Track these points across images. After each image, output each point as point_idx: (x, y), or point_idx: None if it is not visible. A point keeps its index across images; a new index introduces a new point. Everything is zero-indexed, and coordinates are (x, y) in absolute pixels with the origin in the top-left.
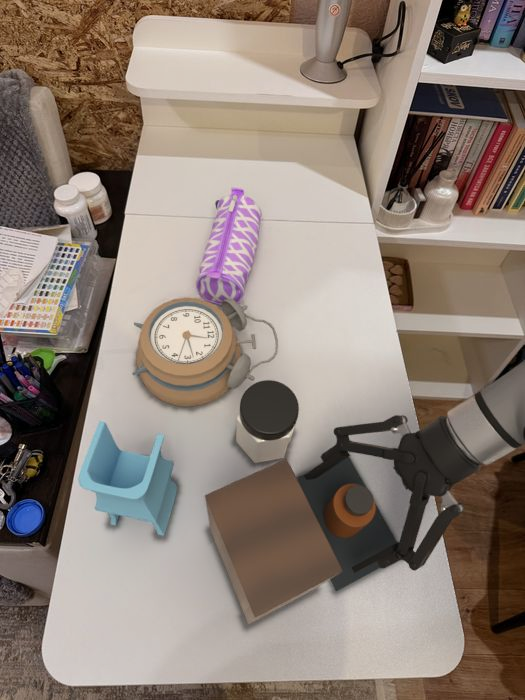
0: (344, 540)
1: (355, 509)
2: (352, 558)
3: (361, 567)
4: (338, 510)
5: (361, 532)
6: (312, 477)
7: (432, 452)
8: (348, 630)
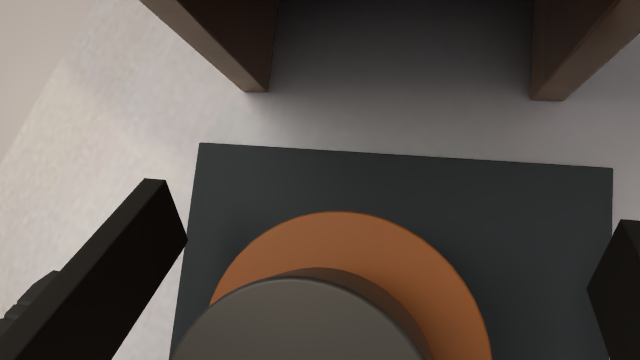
0: None
1: (235, 322)
2: (244, 242)
3: (124, 206)
4: (360, 238)
5: None
6: (617, 258)
7: None
8: (116, 122)
